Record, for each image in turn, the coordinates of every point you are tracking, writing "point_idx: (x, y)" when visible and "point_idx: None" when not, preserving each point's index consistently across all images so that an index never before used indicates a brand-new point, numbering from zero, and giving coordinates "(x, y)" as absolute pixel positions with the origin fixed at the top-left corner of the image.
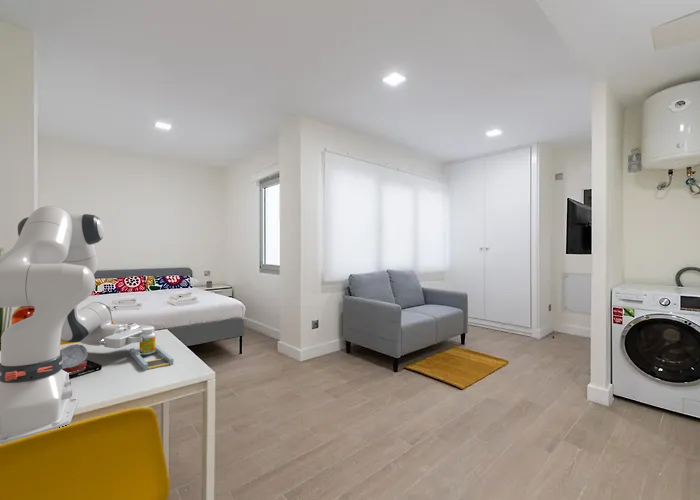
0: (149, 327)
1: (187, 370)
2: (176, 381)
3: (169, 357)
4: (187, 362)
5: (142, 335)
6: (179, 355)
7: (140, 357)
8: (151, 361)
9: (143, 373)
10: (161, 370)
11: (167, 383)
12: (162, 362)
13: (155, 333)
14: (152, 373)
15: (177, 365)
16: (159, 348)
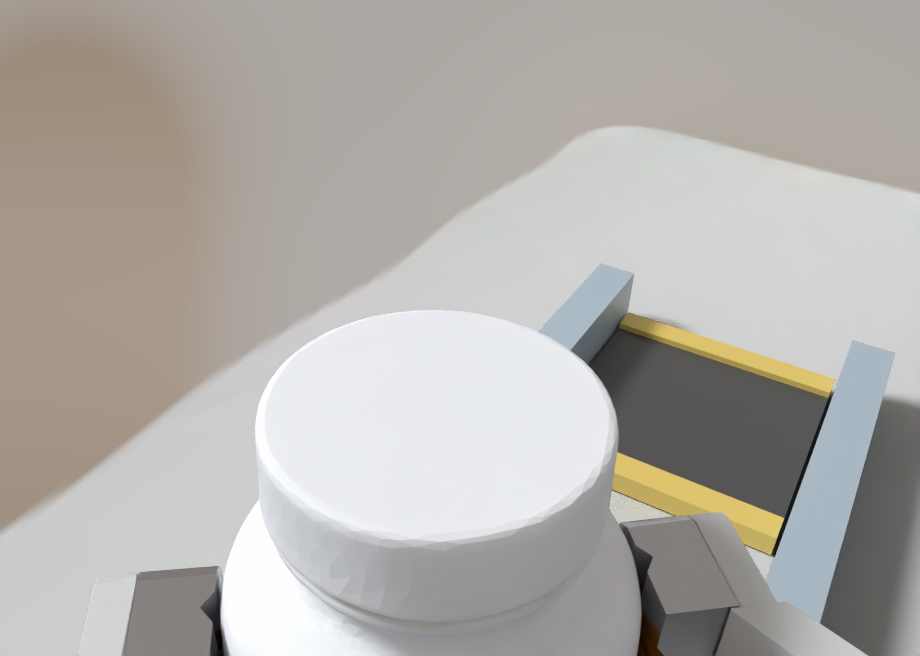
0: (278, 449)
1: (642, 199)
2: (809, 172)
3: (591, 301)
4: (501, 261)
5: (611, 558)
6: None
7: (797, 557)
8: (686, 484)
9: (911, 369)
10: (759, 306)
11: (865, 187)
12: (635, 379)
13: (130, 579)
14: (850, 319)
15: None
16: None
